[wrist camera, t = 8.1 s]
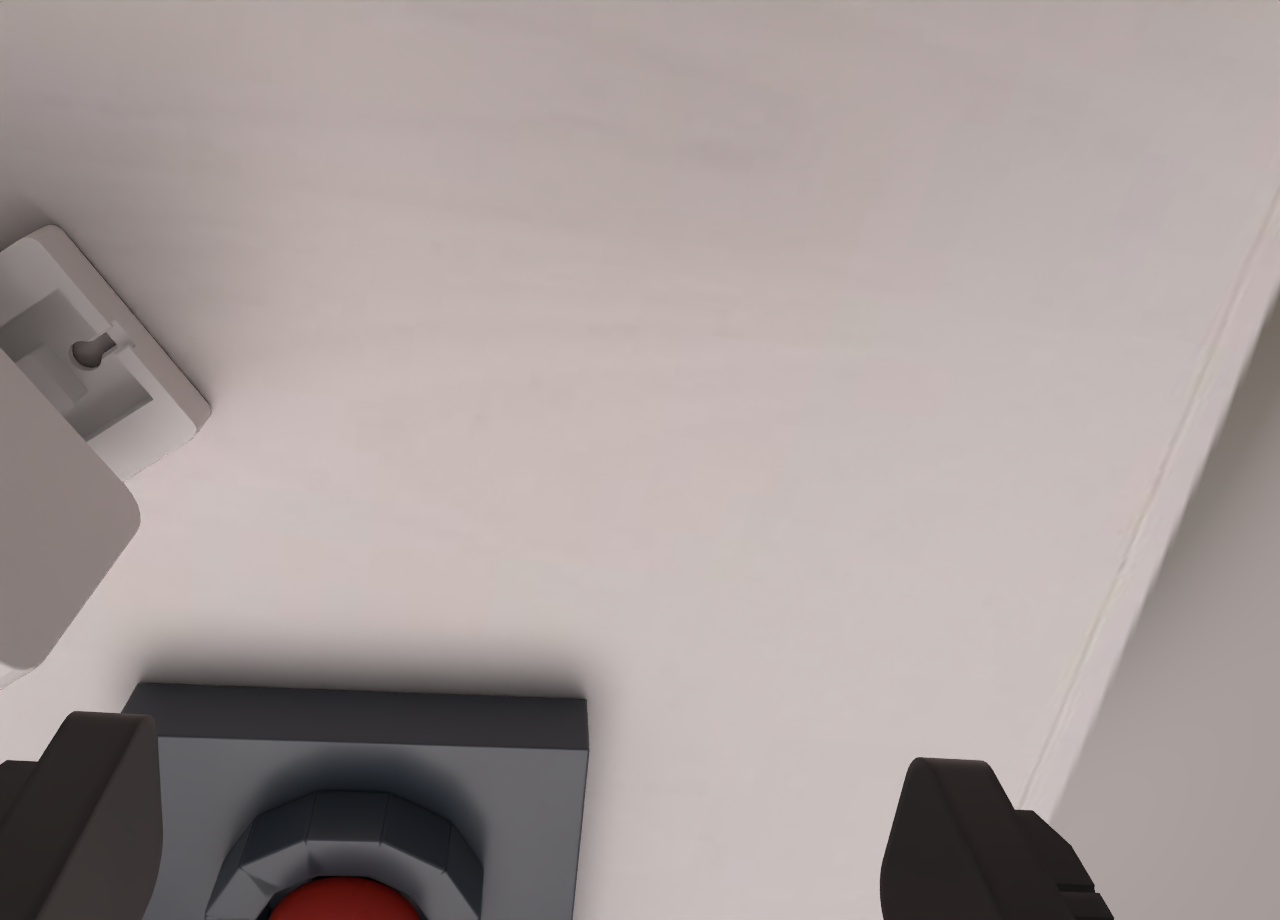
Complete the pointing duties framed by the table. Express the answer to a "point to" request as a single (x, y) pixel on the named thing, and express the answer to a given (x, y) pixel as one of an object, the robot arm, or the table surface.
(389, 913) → the button
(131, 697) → the button box
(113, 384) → the security camera
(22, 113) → the table surface
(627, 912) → the table surface
